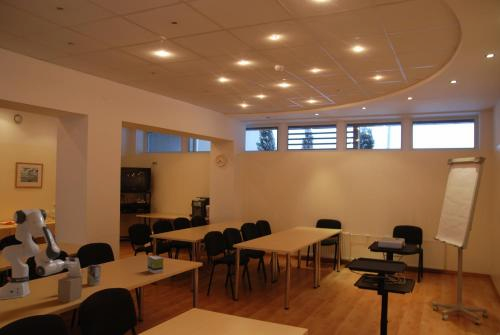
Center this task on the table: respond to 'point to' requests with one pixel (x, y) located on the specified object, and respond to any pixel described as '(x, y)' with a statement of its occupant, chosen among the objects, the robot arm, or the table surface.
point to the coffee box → (93, 275)
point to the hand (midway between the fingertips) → (70, 262)
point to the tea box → (155, 264)
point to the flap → (76, 270)
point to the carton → (69, 289)
